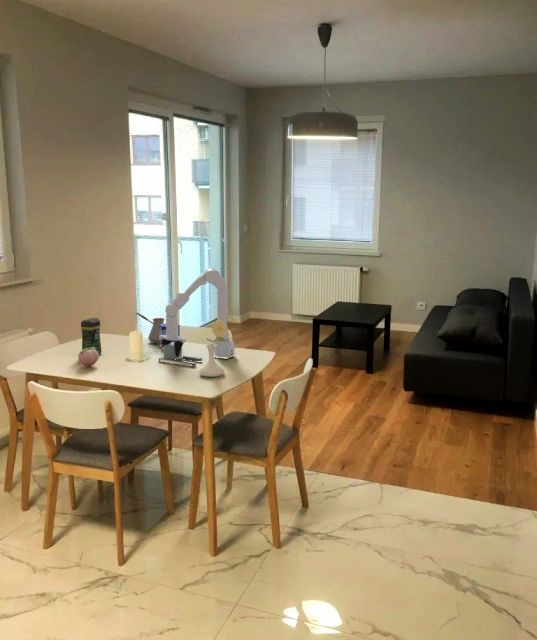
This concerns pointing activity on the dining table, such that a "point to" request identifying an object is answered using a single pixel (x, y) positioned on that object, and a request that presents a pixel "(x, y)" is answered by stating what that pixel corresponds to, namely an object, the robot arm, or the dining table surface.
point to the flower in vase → (212, 367)
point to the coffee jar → (91, 334)
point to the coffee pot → (154, 328)
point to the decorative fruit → (88, 356)
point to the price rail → (182, 361)
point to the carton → (171, 351)
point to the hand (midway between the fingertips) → (172, 355)
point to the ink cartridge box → (163, 332)
